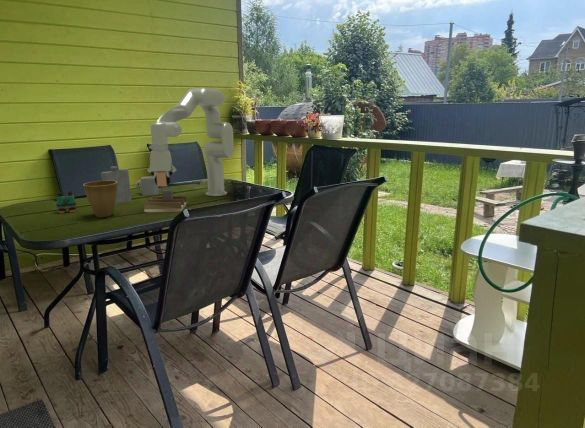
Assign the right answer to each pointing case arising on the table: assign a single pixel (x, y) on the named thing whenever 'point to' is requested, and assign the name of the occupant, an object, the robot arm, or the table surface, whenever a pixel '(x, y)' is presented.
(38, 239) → the table surface
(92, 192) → the plant pot
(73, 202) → the binoculars
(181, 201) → the cream shelf rack
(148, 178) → the coffee mug
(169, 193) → the grey plug block
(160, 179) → the terracotta plug block
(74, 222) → the table surface
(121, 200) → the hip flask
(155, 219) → the table surface
